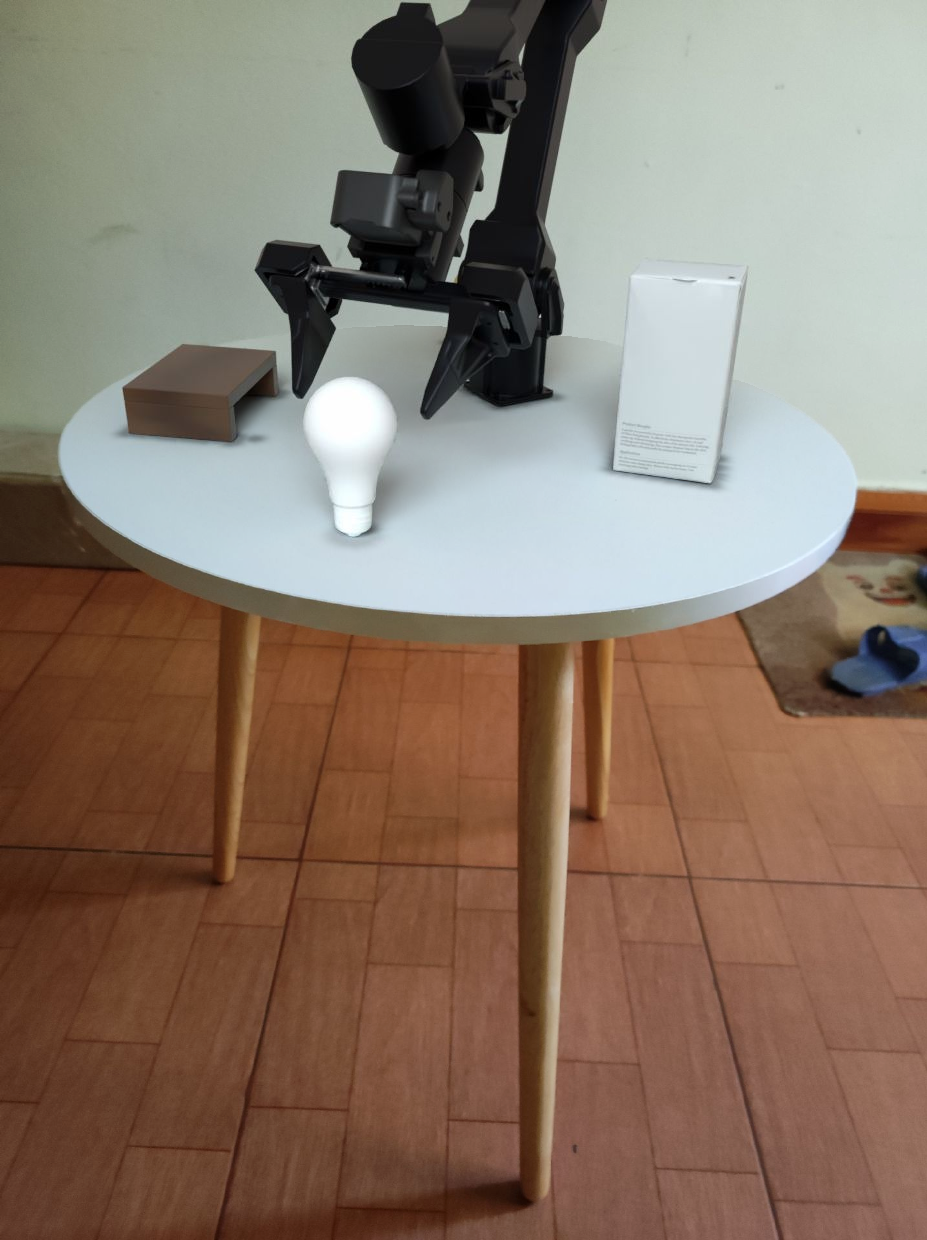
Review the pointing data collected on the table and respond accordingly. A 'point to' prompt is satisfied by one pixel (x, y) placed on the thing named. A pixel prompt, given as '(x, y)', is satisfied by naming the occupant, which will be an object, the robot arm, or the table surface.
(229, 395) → the shelf
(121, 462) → the table surface
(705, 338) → the cosmetic box
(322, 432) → the lightbulb
